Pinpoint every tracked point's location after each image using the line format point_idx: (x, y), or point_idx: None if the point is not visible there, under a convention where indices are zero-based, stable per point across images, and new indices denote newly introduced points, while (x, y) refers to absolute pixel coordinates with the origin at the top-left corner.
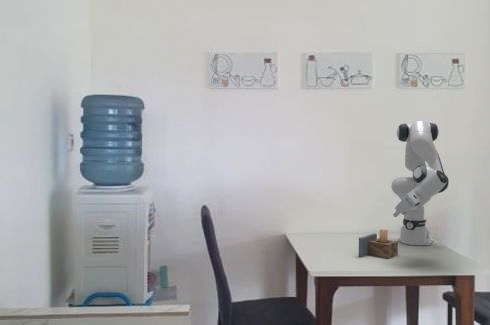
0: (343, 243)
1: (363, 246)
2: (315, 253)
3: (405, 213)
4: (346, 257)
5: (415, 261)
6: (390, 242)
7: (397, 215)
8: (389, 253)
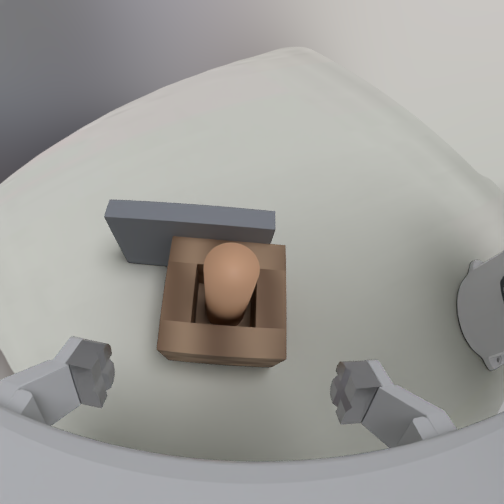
0: (303, 142)
1: (126, 240)
2: (117, 135)
3: (350, 415)
4: None
5: None
6: (231, 335)
7: (73, 397)
8: (177, 358)
